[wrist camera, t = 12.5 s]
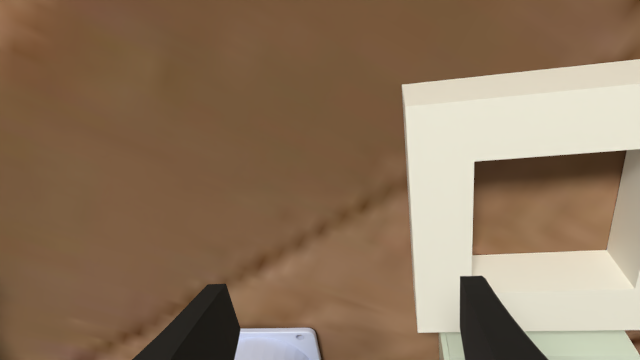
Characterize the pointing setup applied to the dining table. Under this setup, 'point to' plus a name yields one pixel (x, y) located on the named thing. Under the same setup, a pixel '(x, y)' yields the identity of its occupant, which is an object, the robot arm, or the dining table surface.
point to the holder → (509, 143)
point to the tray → (559, 345)
